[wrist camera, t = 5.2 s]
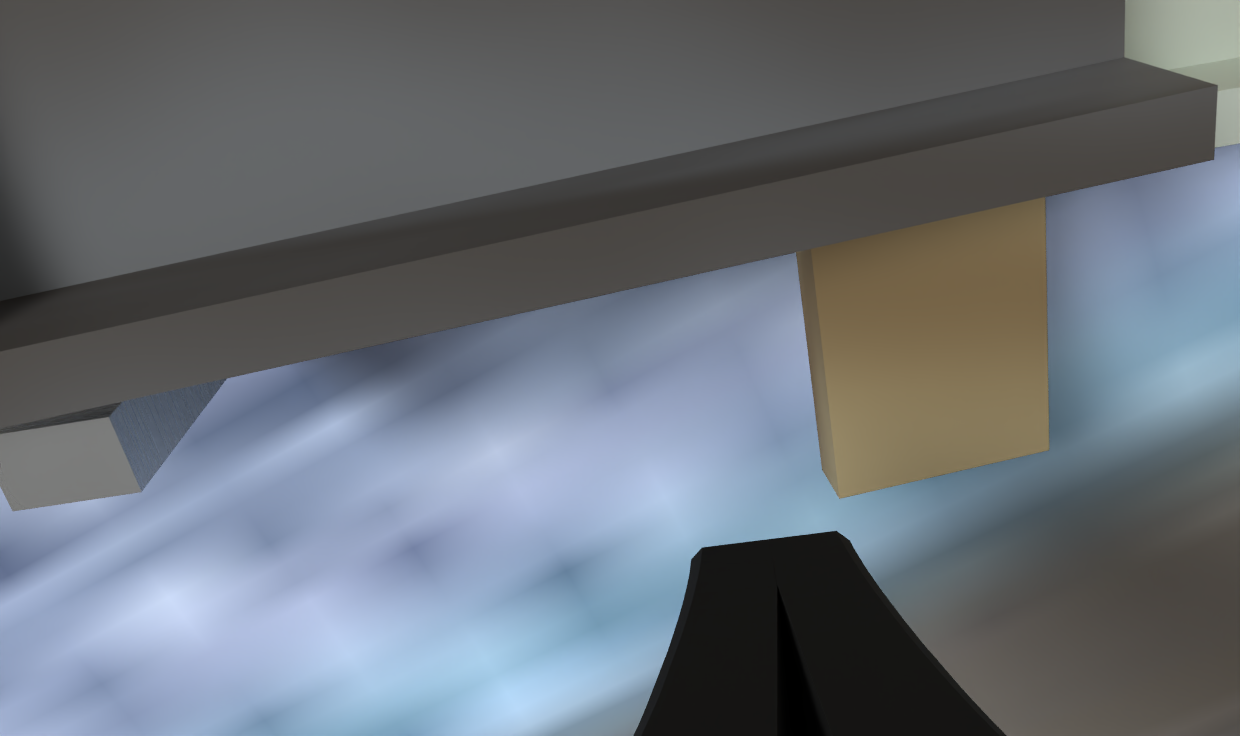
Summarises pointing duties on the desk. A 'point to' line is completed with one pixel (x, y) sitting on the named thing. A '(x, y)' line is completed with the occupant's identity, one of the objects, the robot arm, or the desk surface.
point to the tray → (1192, 48)
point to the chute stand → (96, 448)
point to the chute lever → (565, 186)
